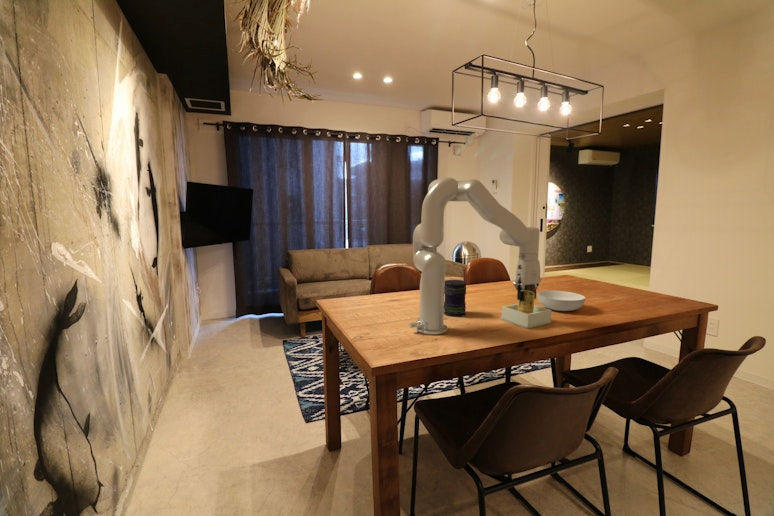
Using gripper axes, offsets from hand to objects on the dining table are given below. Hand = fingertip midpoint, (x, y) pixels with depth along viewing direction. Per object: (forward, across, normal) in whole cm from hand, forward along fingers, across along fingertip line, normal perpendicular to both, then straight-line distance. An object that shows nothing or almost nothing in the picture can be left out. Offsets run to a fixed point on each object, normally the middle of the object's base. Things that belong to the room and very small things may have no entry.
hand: (526, 298), depth 157 cm
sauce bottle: (+8, 0, 0) cm, 8 cm away
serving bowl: (+10, +30, +6) cm, 32 cm away
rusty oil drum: (+10, -19, +24) cm, 32 cm away
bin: (+10, 0, 0) cm, 10 cm away
